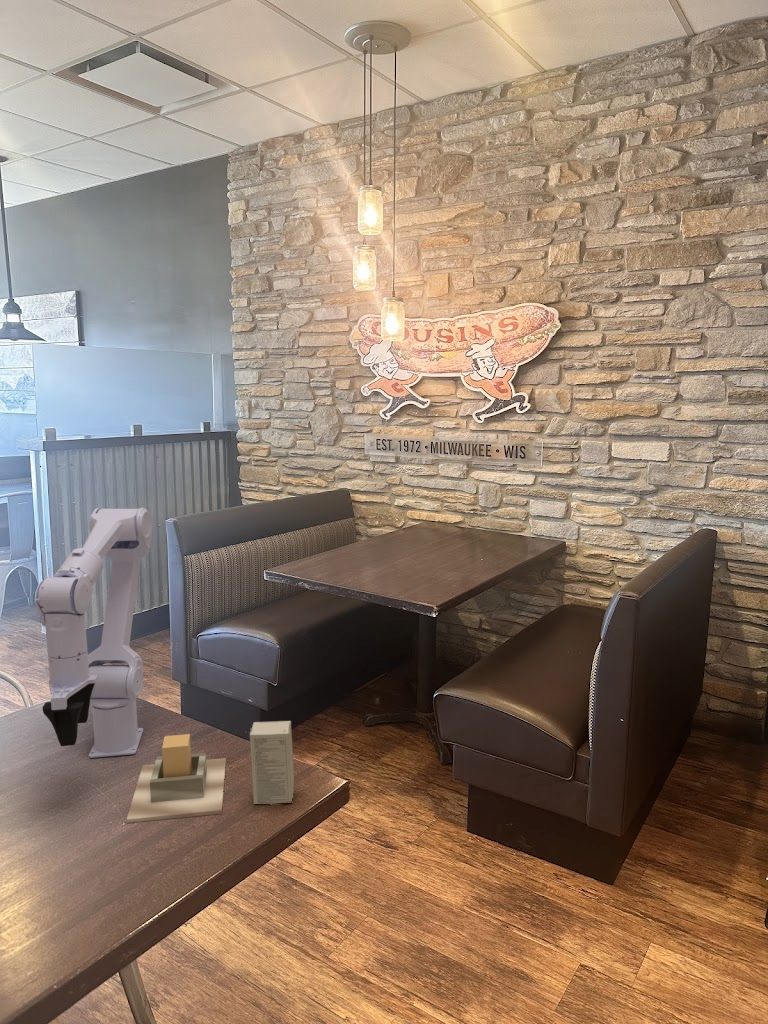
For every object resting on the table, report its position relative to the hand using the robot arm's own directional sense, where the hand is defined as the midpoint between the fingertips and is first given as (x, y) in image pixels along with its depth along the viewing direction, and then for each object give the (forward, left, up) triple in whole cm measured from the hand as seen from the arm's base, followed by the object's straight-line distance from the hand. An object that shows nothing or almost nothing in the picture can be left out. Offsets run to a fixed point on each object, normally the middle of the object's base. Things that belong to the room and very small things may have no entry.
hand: (74, 733), depth 115 cm
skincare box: (+7, +31, -11) cm, 33 cm away
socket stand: (+2, +16, -10) cm, 19 cm away
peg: (+2, +16, -10) cm, 19 cm away
